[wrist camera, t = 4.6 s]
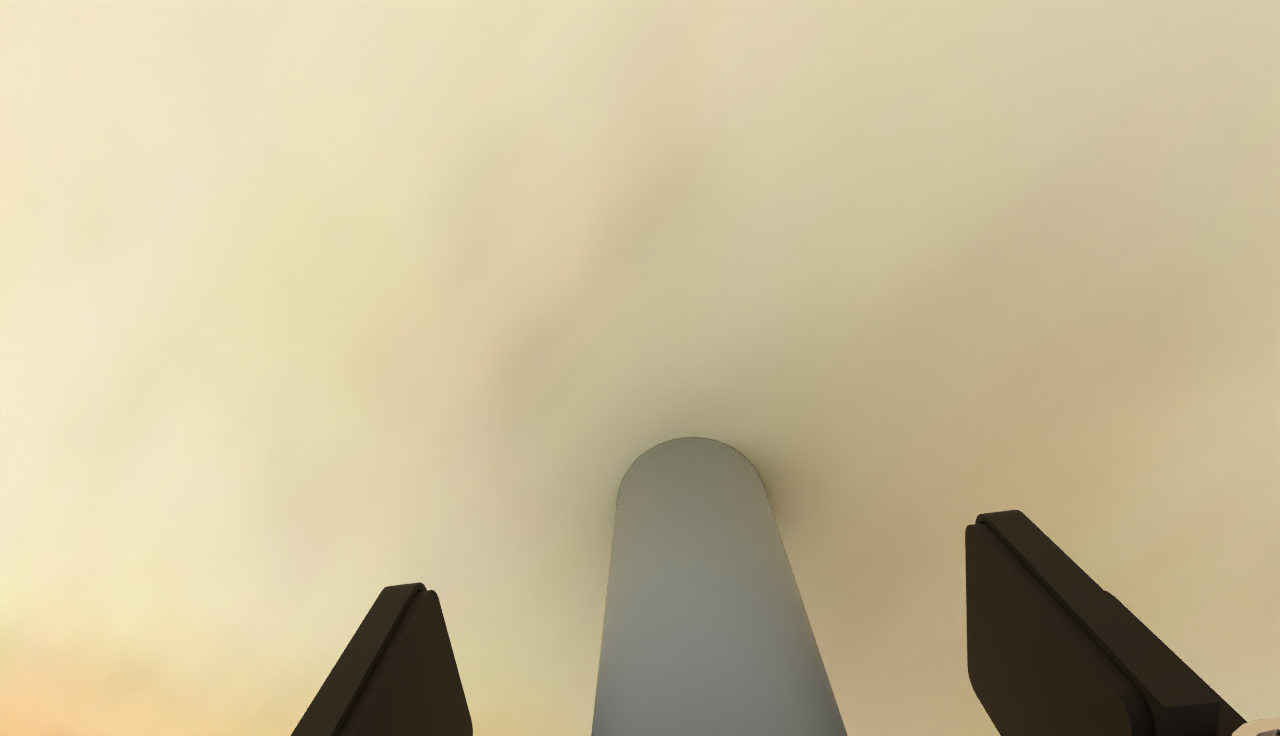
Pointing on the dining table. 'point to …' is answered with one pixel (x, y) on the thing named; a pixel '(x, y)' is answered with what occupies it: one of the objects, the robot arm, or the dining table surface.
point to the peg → (705, 608)
